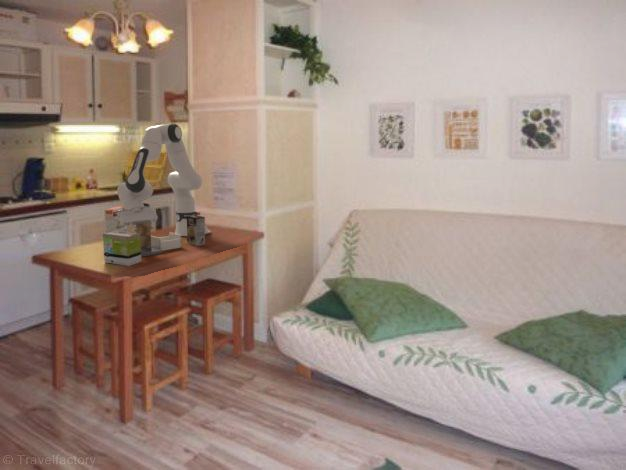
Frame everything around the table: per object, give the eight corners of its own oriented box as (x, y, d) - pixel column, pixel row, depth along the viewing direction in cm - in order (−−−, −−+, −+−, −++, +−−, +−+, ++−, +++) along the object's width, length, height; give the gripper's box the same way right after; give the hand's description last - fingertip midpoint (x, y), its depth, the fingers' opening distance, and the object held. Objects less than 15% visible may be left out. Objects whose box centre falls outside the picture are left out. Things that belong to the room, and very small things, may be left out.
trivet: (149, 248, 303) (149, 246, 303) (163, 253, 293) (163, 250, 293) (125, 252, 293) (125, 249, 293) (138, 257, 283) (138, 254, 283)
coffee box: (187, 243, 318) (186, 215, 315) (196, 242, 322) (195, 214, 319) (196, 246, 312) (195, 217, 308) (205, 244, 316) (205, 216, 313)
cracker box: (115, 247, 306) (113, 209, 302) (105, 246, 307) (103, 209, 303) (128, 242, 319) (126, 206, 316) (119, 241, 321) (117, 206, 317)
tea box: (103, 263, 270) (101, 233, 268) (117, 258, 280) (116, 230, 277) (128, 266, 265) (127, 236, 262) (142, 261, 274) (140, 232, 271)
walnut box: (147, 248, 296) (146, 222, 294) (151, 249, 294) (150, 223, 291) (137, 250, 292) (136, 224, 290) (141, 251, 289) (139, 225, 287)
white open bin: (170, 244, 315) (170, 232, 314) (181, 247, 307) (181, 235, 306) (149, 247, 306) (149, 235, 304) (160, 251, 298) (159, 238, 297)
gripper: (117, 207, 286) (127, 228, 281) (152, 203, 300) (163, 223, 295) (113, 214, 290) (123, 235, 285) (149, 210, 304) (159, 230, 299)
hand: (143, 229), depth 290 cm, fingers open, 8 cm apart
